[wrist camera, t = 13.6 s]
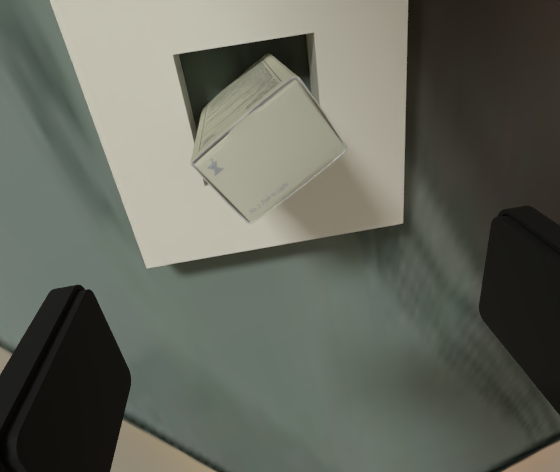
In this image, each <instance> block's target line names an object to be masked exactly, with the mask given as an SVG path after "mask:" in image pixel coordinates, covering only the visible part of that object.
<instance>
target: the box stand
mask: <svg viewBox="0 0 560 472" xmlns="http://www.w3.org/2000/svg"><path fill="white" fill-rule="evenodd" d="M50 2H51V5H52V8H53V10H54V13H55V16H56V19H57V22H58V24H59V27H60V30H61V33H62V35H63V38H64V41H65V44H66V46H67V49H68V52H69V55H70V58H71V60H72V63H73V66H74V69H75V71H76V74H77V77H78V80H79V82H80V85H81V88H82V91H83V93H84V96H85V99H86V102H87V105H88V107H89V110H90V113H91V116H92V118H93V121H94V124H95V127H96V129H97V132H98V135H99V138H100V140H101V143H102V146H103V149H104V152H105V154H106V157H107V160H108V163H109V165H110V168H111V171H112V174H113V176H114V179H115V182H116V185H117V187H118V190H119V193H120V196H121V199H122V201H123V204H124V207H125V210H126V212H127V215H128V218H129V221H130V223H131V226H132V229H133V232H134V234H135V237H136V240H137V243H138V246H139V248H140V251H141V254H142V257H143V259H144V262H145V265H146V268H152V267H157V266H163V265H169V264H175V263H180V262H186V261H192V260H197V259H203V258H209V257H215V256H220V255H226V254H232V253H238V252H243V251H249V250H255V249H260V248H266V247H272V246H278V245H283V244H289V243H295V242H300V241H306V240H312V239H318V238H323V237H329V236H335V235H340V234H346V233H352V232H358V231H363V230H369V229H375V228H381V227H386V226H392V225H398V224H403V208H404V164H405V120H406V76H407V33H408V0H50ZM302 34H306V40H307V51H308V62H309V73H310V84H311V94H312V95H313V97H314V98H315V100H316V101H317V102H318V104H319V105H320V107H321V108H322V110H323V111H324V113H325V114H326V116H327V117H328V119H329V120H330V122H331V123H332V125H333V126H334V128H335V129H336V131H337V132H338V134H339V136H340V137H341V139H342V140H343V142H344V143H345V145H346V146H347V149H348V150H347V151H346V152H345V153H344V154H343V155H342V156H341V157H339V158H338V159H337V160H336V161H334V162H333V163H332V164H331V165H329V166H328V167H327V168H325V169H324V170H323V171H322V172H321V173H320V174H318V175H317V176H316V177H314V178H313V179H312V180H310V181H309V182H308V183H307V184H306V185H304V186H303V187H301V188H300V189H299V190H298V191H296V192H295V193H294V194H293V195H291V196H290V197H289V198H287V199H286V200H285V201H283V202H282V203H281V204H279V205H278V206H277V207H275V208H274V209H273V210H271V211H270V212H269V213H267V214H266V215H264V216H263V217H262V218H260V219H259V220H257V221H256V222H254V223H253V224H248V223H247V222H246V221H245V220H244V219H243V218H242V217H240V216H239V215H238V214H237V213H236V212H235V211H234V210H233V209H232V208H231V207H230V206H229V205H228V204H227V203H226V202H225V201H224V200H223V199H222V198H221V196H220V195H219V194H218V193H217V192H216V191H215V190H213V188H212V187H211V186H210V185H209V184H208V183H207V182H206V181H205V180H204V179H203V178H202V177H201V176H200V174H199V173H198V172H197V171H196V170H195V169H194V168H193V167H192V166H191V165H190V162H191V158H192V154H193V149H194V145H195V140H196V135H197V129H196V125H195V121H194V116H193V112H192V108H191V104H190V99H189V95H188V91H187V87H186V83H185V78H184V74H183V70H182V66H181V61H180V57H179V54H181V53H187V52H194V51H200V50H206V49H213V48H219V47H226V46H232V45H238V44H245V43H251V42H257V41H264V40H270V39H276V38H283V37H289V36H295V35H302Z"/></svg>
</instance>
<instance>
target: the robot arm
mask: <svg viewBox="0 0 560 472" xmlns="http://www.w3.org/2000/svg"><path fill="white" fill-rule="evenodd" d="M479 311H480V315H481V317H482V319H483V321H484V322H485V323H486V324H487V326H488V327H489V328H490V329H491V331H492V332H493V333H494V334H495V336H496V337H497V338H498V339H499V340H500V342H501V343H502V344H503V345H504V347H505V348H506V349H507V350H508V352H509V353H510V354H511V355H512V357H513V358H514V359H515V360H516V362H517V363H518V364H519V365H520V366H521V368H522V369H523V370H524V371H525V373H526V374H527V375H528V376H529V378H530V379H531V380H532V381H533V383H534V384H535V385H536V386H537V388H538V389H539V390H540V391H541V392H542V394H543V395H544V396H545V397H546V399H547V400H548V401H549V402H550V404H551V405H552V406H553V407H554V409H555V410H556V411H557V412H558V414H559V415H560V226H559V225H558V224H556V223H555V222H553V221H552V220H550V219H549V218H547V217H546V216H544V215H543V214H541V213H540V212H539V211H537V210H536V209H534V208H533V207H530V206H522V207H516V208H511V209H505V210H502V211H500V213H499V214H498V217H496V218H494V219H493V220H492V223H491V229H490V236H489V242H488V249H487V256H486V262H485V269H484V276H483V282H482V289H481V296H480V302H479ZM130 386H131V375H130V371H129V368H128V366H127V364H126V362H125V360H124V358H123V356H122V353H121V351H120V349H119V347H118V345H117V343H116V340H115V338H114V336H113V334H112V332H111V330H110V327H109V325H108V323H107V321H106V319H105V317H104V315H103V312H102V310H101V308H100V306H99V304H98V302H97V299H96V297H95V295H94V293H93V292H92V291H91V290H89V289H88V290H85V289H84V288H83V287H82V286H81V285H74V286H68V287H63V288H57V289H53V290H51V291H50V292H49V294H48V296H47V297H46V299H45V301H44V302H43V304H42V306H41V307H40V309H39V311H38V312H37V314H36V316H35V317H34V319H33V321H32V322H31V324H30V326H29V327H28V329H27V331H26V332H25V334H24V336H23V338H22V339H21V341H20V343H19V344H18V346H17V348H16V349H15V351H14V353H13V354H12V356H11V358H10V359H9V361H8V363H7V365H6V366H5V368H4V370H3V371H2V373H1V375H0V472H110V469H111V465H112V461H113V457H114V452H115V449H116V444H117V440H118V436H119V432H120V428H121V424H122V420H123V416H124V411H125V407H126V403H127V399H128V395H129V391H130Z"/></svg>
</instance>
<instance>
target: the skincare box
mask: <svg viewBox="0 0 560 472" xmlns="http://www.w3.org/2000/svg"><path fill="white" fill-rule="evenodd" d="M347 150H348V149H347V146H346V145H345V143H344V142H343V140H342V139H341V137H340V136H339V134H338V132H337V131H336V129H335V128H334V126H333V125H332V123H331V122H330V120H329V119H328V117H327V116H326V114H325V113H324V111H323V110H322V108H321V107H320V105H319V104H318V102H317V101H316V100H315V98H314V97H313V95H312V94H311V92H310V91H309V90H308V88H307V87H306V85H305V84H304V83H303V81H302V80H301V79H300V77H298V76H297V75H296V74H294V73H293V72H292V71H291V70H289V69H288V68H287V67H286V66H285V65H283V64H282V63H281V62H280V61H278V60H277V59H276V58H275V57H274V56H272V55H271V54H270V53H267V54H265V55H264V56H263V57H262V58H260V59H259V60H258V61H257V62H255V63H254V64H253V65H252V66H251V67H249V68H248V69H247V70H246V71H245V72H243V73H242V74H241V75H240V76H239V77H237V78H236V79H235V80H234V81H233V82H232V83H231V84H229V85H228V86H227V87H226V88H225V89H224V90H222V91H221V92H220V93H219V94H218V95H217V96H216V97H214V98H213V99H212V100H211V101H210V102H209V103H208V104H207V105H206V106H205V107H203V109H202V112H201V117H200V122H199V126H198V131H197V135H196V140H195V145H194V149H193V154H192V158H191V162H190V165H191V166H192V167H193V168H194V169H195V170H196V171H197V172H198V173H199V174H200V176H201V177H202V178H203V179H204V180H205V181H206V182H207V183H208V184H209V185H210V186H211V187H212V188H213V190H215V191H216V192H217V193H218V194H219V195H220V196H221V198H222V199H223V200H224V201H225V202H226V203H227V204H228V205H229V206H230V207H231V208H232V209H233V210H234V211H235V212H236V213H237V214H238V215H239V216H240V217H242V218H243V219H244V220H245V221H246V222H247V223H248V224H253V223H254V222H256V221H257V220H259V219H260V218H262V217H263V216H264V215H266V214H267V213H269V212H270V211H271V210H273V209H274V208H275V207H277V206H278V205H279V204H281V203H282V202H283V201H285V200H286V199H287V198H289V197H290V196H291V195H293V194H294V193H295V192H296V191H298V190H299V189H300V188H301V187H303V186H304V185H306V184H307V183H308V182H309V181H310V180H312V179H313V178H314V177H316V176H317V175H318V174H320V173H321V172H322V171H323V170H324V169H325V168H327V167H328V166H329V165H331V164H332V163H333V162H334V161H336V160H337V159H338V158H339V157H341V156H342V155H343V154H344V153H345V152H346V151H347Z"/></svg>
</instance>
